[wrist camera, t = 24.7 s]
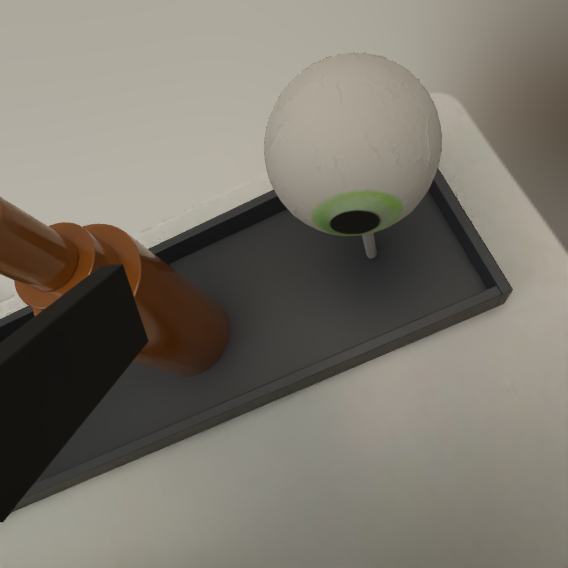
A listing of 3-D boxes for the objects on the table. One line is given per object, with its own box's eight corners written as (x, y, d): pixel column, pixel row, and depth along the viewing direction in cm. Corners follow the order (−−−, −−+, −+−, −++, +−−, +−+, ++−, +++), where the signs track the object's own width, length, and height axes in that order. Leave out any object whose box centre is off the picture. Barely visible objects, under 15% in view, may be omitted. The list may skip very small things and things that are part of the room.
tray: (411, 147, 32) (411, 123, 30) (504, 303, 27) (513, 289, 25) (-45, 361, 36) (-77, 354, 34) (-32, 530, 31) (-68, 537, 29)
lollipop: (319, 313, 29) (239, 195, 16) (313, 211, 32) (239, 32, 18) (438, 301, 28) (465, 159, 14) (422, 195, 30) (431, -15, 17)
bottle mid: (234, 294, 31) (61, 143, 16) (223, 379, 30) (15, 304, 14) (159, 292, 33) (-68, 152, 17) (144, 373, 31) (-124, 299, 16)
